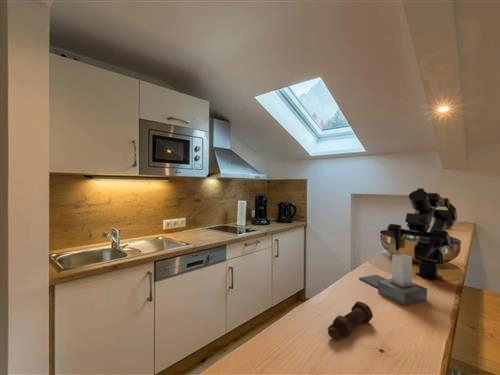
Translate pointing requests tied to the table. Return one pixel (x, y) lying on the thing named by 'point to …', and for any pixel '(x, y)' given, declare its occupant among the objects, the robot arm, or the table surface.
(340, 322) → the bolt
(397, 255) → the steel peg
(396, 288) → the socket block
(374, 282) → the rubber mat
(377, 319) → the table surface
